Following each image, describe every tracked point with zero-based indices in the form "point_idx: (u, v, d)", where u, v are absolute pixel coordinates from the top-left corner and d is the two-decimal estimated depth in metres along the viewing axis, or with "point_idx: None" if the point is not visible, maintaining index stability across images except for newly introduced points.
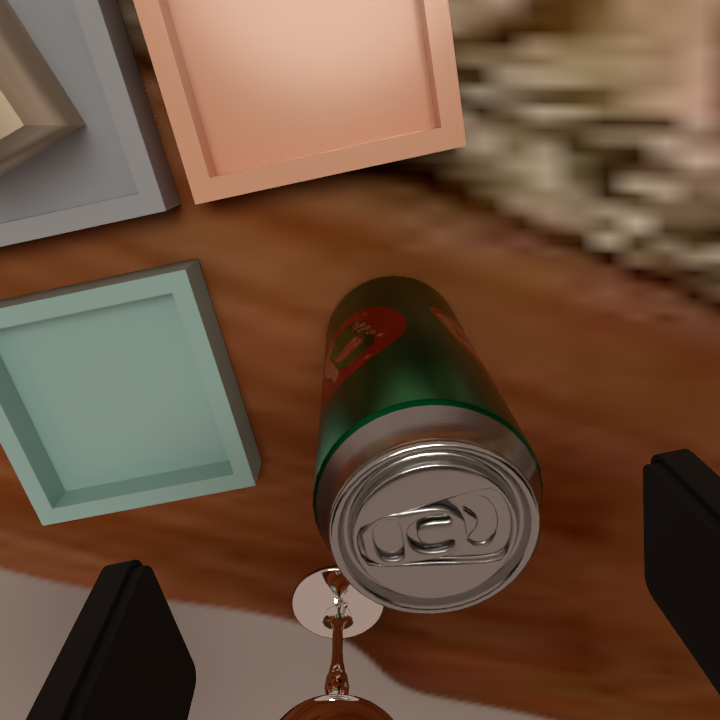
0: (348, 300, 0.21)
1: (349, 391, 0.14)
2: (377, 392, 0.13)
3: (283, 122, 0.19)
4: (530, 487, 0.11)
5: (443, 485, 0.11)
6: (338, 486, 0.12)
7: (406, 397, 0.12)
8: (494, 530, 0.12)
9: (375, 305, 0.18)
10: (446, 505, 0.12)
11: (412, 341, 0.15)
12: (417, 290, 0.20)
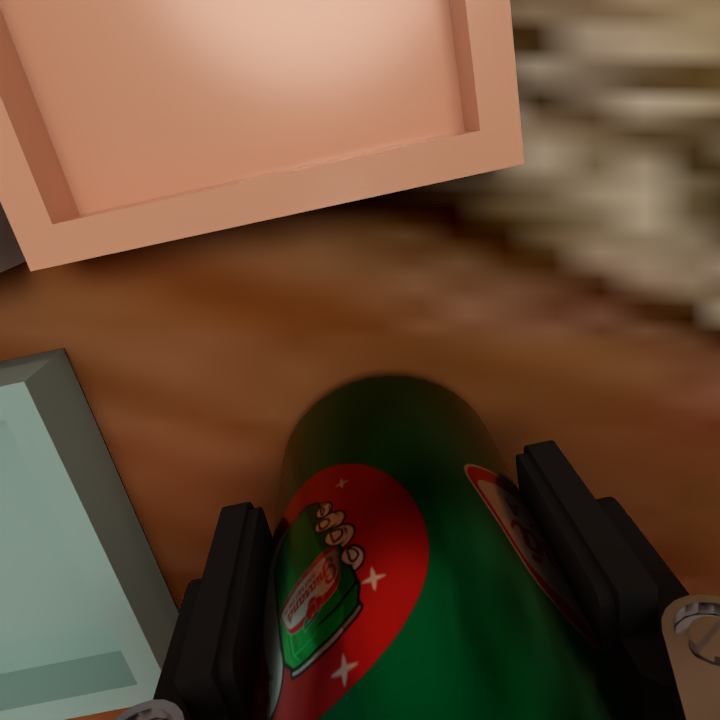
0: (315, 423, 0.12)
1: None
2: None
3: (192, 121, 0.11)
4: None
5: None
6: None
7: None
8: None
9: (362, 461, 0.10)
10: None
11: (450, 627, 0.06)
12: (434, 413, 0.11)
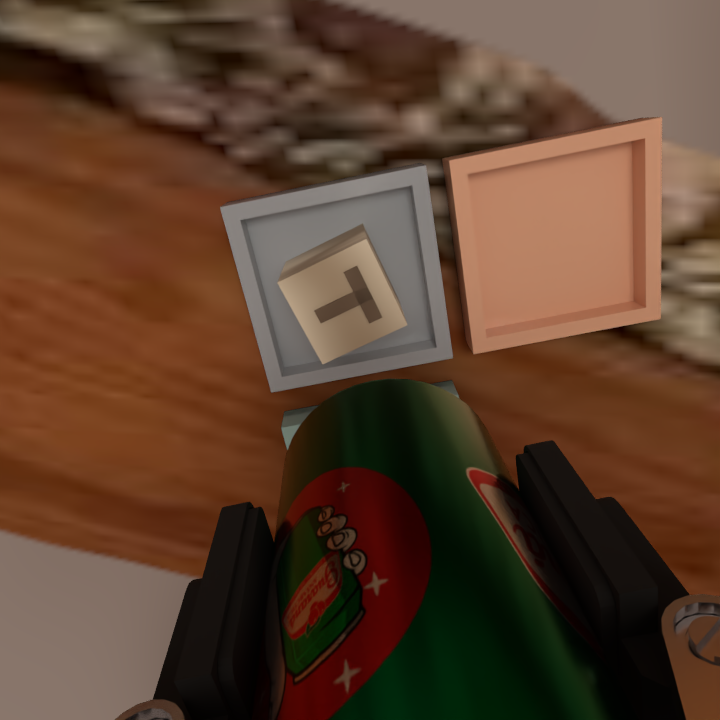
0: (316, 425, 0.12)
1: None
2: None
3: (531, 297, 0.28)
4: None
5: None
6: None
7: None
8: None
9: (364, 464, 0.10)
10: None
11: (453, 633, 0.06)
12: (435, 416, 0.11)
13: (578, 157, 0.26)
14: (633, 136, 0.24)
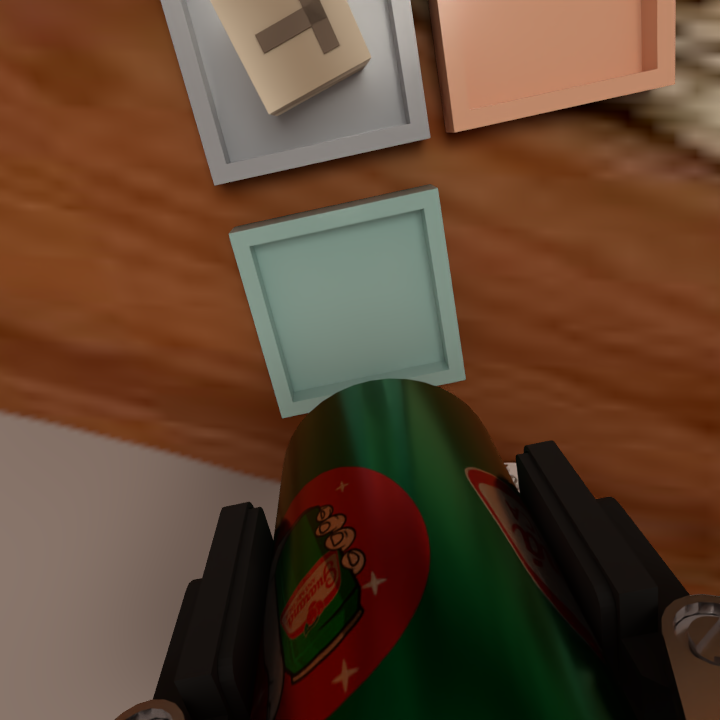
0: (315, 425, 0.12)
1: None
2: None
3: (522, 66, 0.24)
4: None
5: None
6: None
7: None
8: None
9: (362, 464, 0.10)
10: None
11: (451, 631, 0.06)
12: (434, 416, 0.11)
13: None
14: None
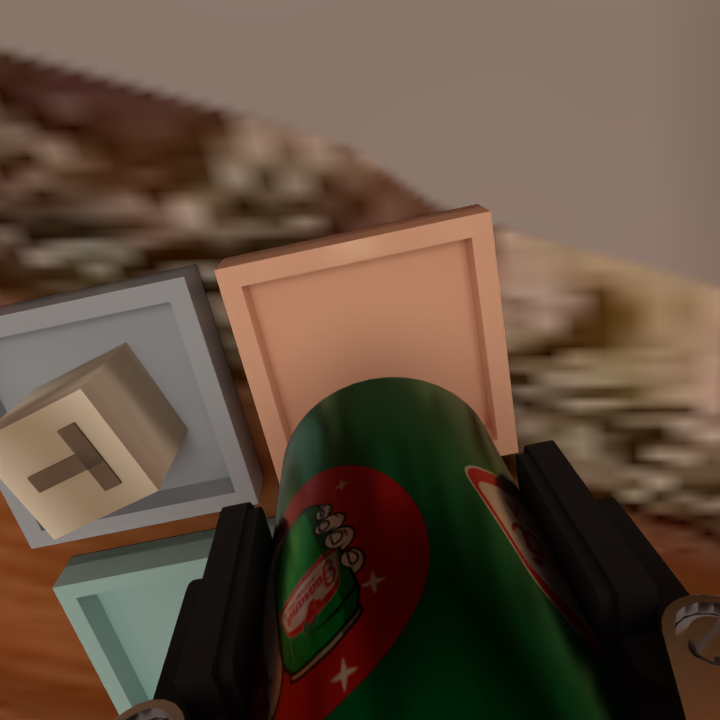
0: (315, 424, 0.12)
1: None
2: None
3: None
4: None
5: None
6: None
7: None
8: None
9: (362, 463, 0.10)
10: None
11: (450, 631, 0.06)
12: (434, 414, 0.11)
13: (397, 256, 0.20)
14: (455, 235, 0.18)
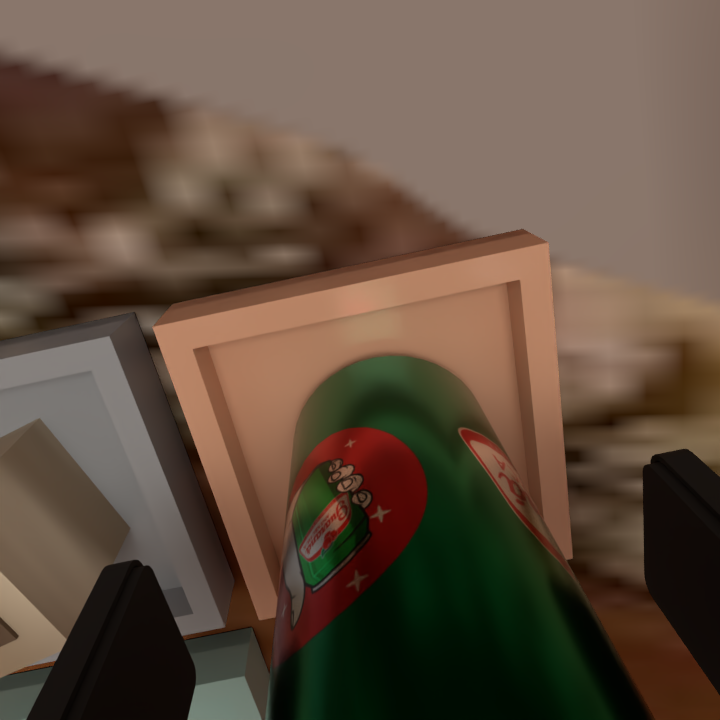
0: (324, 397, 0.13)
1: (322, 695, 0.06)
2: None
3: None
4: None
5: None
6: None
7: None
8: None
9: (368, 424, 0.11)
10: None
11: (445, 546, 0.08)
12: (431, 386, 0.13)
13: (412, 302, 0.14)
14: (497, 277, 0.13)
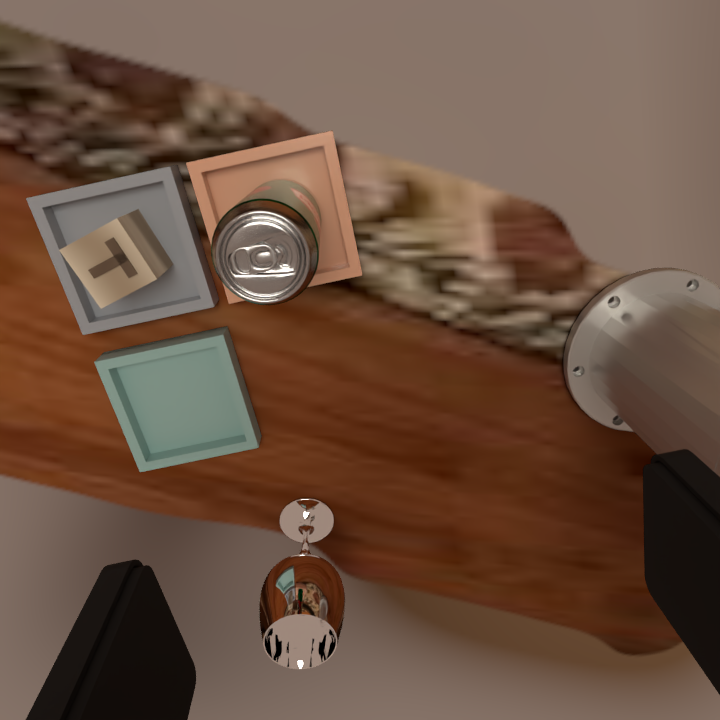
0: None
1: None
2: (240, 202, 0.27)
3: None
4: (302, 234, 0.26)
5: (263, 231, 0.26)
6: None
7: (251, 199, 0.26)
8: (291, 259, 0.27)
9: (260, 186, 0.33)
10: (267, 244, 0.26)
11: (268, 191, 0.29)
12: (289, 183, 0.34)
13: (287, 159, 0.36)
14: (314, 144, 0.35)
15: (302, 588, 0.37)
